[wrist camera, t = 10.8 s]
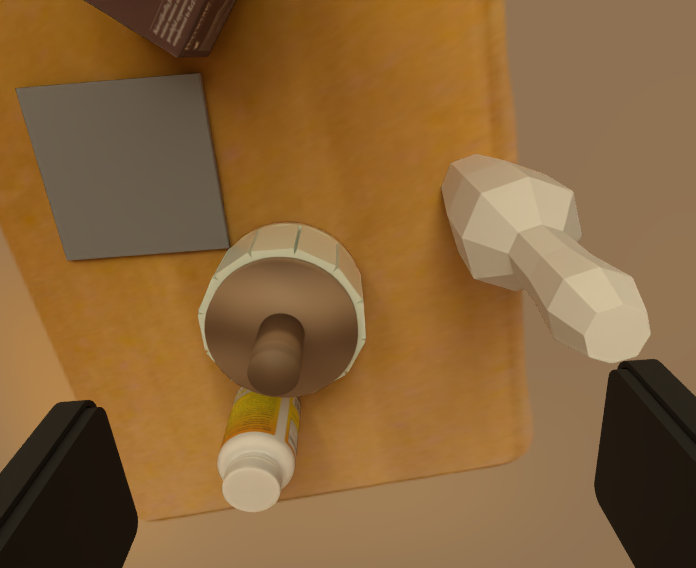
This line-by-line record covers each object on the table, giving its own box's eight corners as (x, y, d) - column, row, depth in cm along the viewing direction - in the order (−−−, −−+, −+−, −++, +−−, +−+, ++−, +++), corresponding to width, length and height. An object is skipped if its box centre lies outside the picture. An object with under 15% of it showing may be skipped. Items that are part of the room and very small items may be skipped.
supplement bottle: (222, 400, 46) (192, 490, 37) (266, 360, 45) (247, 444, 35) (270, 438, 48) (253, 534, 38) (315, 401, 46) (309, 491, 37)
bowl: (206, 227, 40) (185, 256, 34) (356, 216, 40) (359, 243, 34) (230, 357, 44) (215, 401, 39) (365, 347, 44) (369, 389, 39)
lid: (194, 263, 35) (168, 302, 29) (351, 250, 34) (353, 287, 29) (221, 394, 39) (203, 449, 33) (362, 383, 38) (366, 437, 33)
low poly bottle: (431, 142, 38) (536, 250, 18) (522, 140, 38) (732, 246, 18) (427, 229, 40) (516, 412, 20) (513, 228, 40) (687, 408, 20)
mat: (20, 87, 36) (15, 88, 35) (200, 72, 36) (198, 73, 35) (70, 257, 41) (66, 260, 40) (230, 245, 41) (228, 248, 40)
